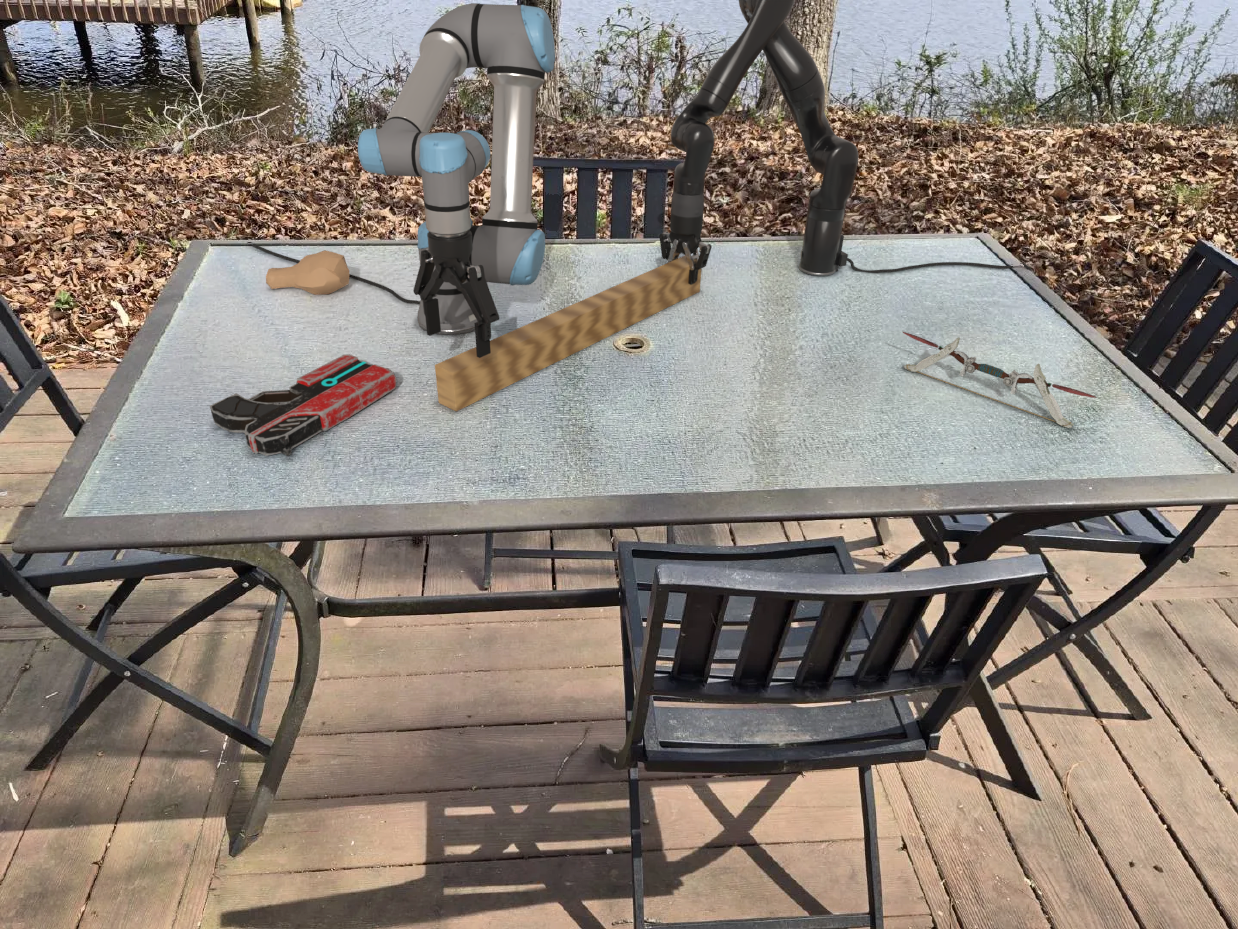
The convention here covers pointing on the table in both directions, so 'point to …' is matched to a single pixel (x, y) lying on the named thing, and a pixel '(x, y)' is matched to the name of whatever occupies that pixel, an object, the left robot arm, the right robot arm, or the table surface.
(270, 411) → the gun
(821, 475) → the table surface
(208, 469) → the table surface
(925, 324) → the table surface
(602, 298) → the beam
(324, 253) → the squash
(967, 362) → the bow
